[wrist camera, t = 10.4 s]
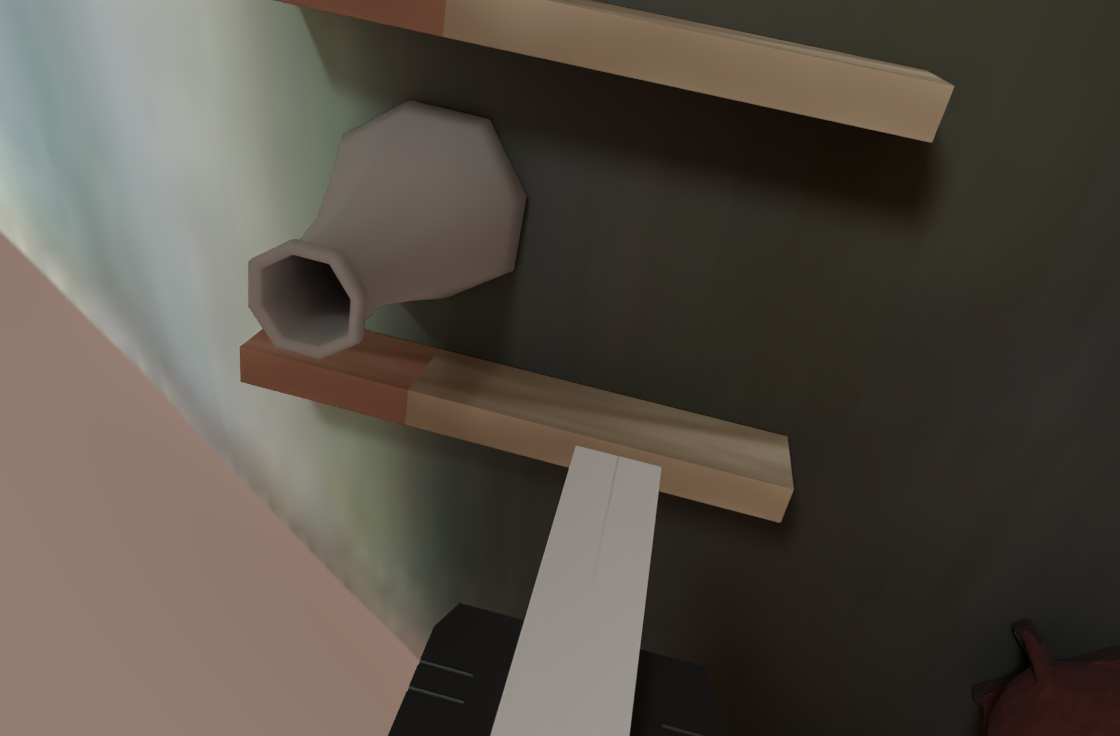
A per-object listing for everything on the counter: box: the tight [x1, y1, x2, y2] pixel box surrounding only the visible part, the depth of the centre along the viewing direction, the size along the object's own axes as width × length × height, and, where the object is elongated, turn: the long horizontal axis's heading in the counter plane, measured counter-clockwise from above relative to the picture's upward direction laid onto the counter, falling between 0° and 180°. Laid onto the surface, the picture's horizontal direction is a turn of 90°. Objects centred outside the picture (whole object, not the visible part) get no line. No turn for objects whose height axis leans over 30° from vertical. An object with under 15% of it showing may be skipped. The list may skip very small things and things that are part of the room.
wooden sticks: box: [240, 0, 954, 523], centre depth 27 cm, size 15×20×4 cm
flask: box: [249, 100, 527, 359], centre depth 25 cm, size 7×7×10 cm
